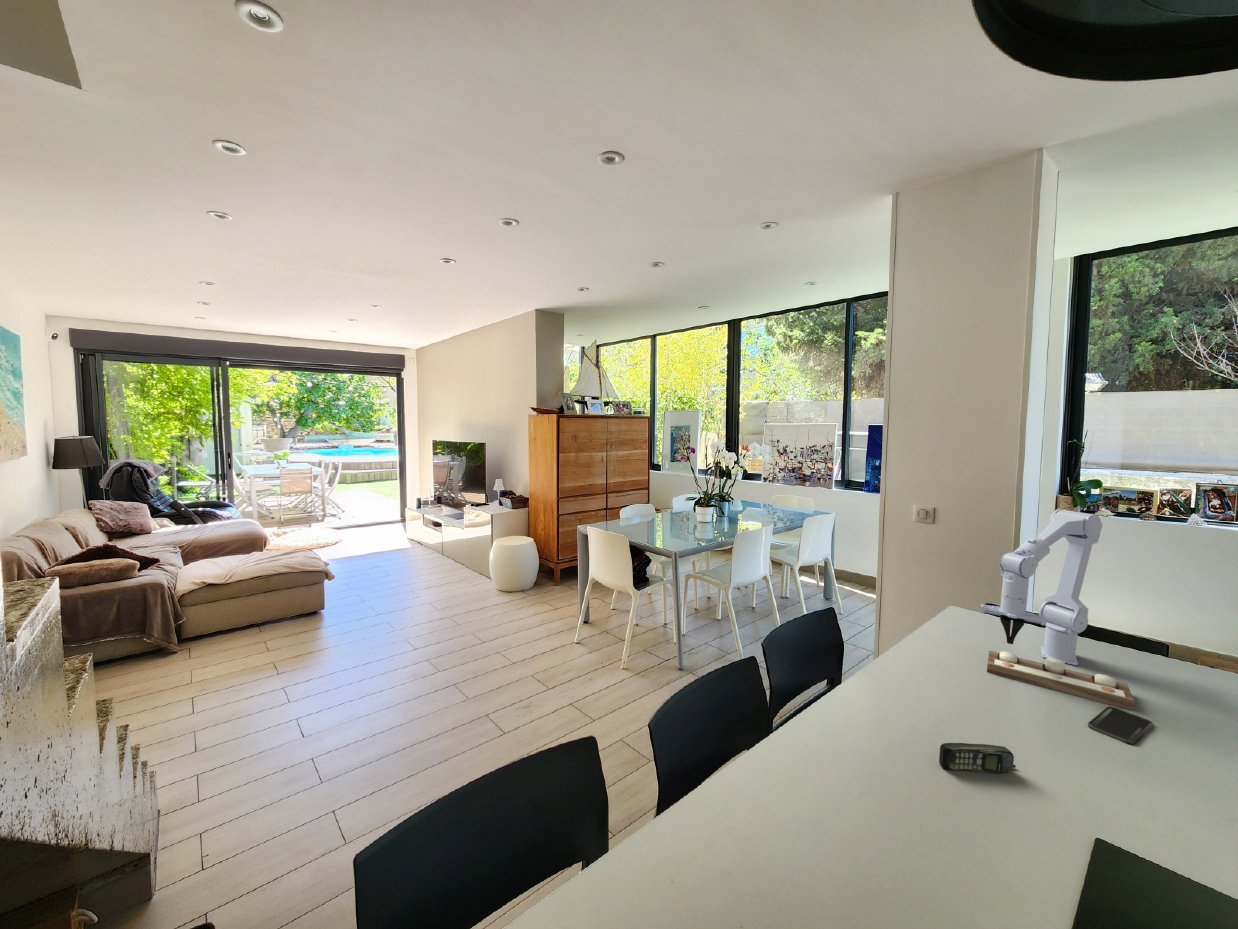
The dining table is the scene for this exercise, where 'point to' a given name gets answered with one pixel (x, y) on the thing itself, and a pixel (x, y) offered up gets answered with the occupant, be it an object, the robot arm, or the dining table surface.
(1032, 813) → the dining table surface
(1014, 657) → the end button
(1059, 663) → the middle button
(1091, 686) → the pattern card
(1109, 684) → the end button
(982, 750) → the mobile phone
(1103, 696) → the button board
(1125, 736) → the phone
